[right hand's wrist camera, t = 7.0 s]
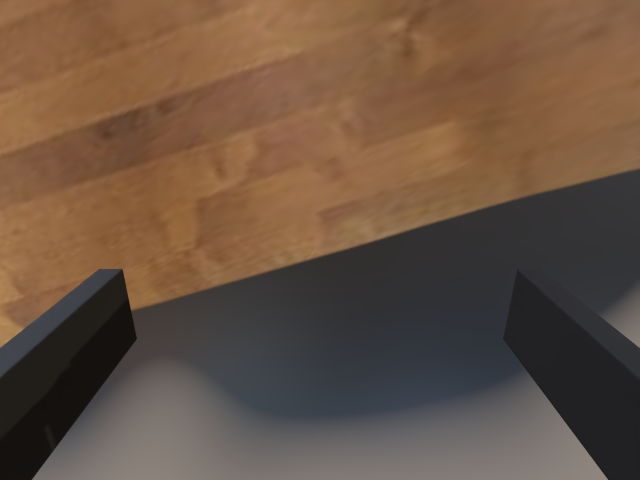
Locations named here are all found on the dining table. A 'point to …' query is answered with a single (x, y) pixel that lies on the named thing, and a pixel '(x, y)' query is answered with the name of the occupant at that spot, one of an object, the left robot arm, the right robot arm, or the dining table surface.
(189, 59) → the dining table surface
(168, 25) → the dining table surface
